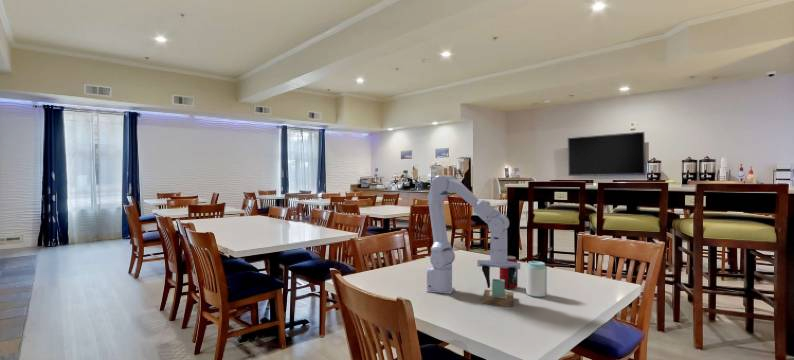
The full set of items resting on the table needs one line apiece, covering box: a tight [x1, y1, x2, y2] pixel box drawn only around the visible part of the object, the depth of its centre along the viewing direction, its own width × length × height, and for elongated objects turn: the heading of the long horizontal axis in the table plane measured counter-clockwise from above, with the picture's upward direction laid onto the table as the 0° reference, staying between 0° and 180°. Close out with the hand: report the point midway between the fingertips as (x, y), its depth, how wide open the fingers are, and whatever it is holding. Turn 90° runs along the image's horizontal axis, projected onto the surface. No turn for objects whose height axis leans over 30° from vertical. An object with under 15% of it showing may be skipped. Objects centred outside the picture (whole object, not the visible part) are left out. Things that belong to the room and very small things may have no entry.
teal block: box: [491, 278, 506, 297], centre depth 135 cm, size 4×4×5 cm
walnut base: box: [482, 289, 514, 307], centre depth 135 cm, size 10×10×2 cm
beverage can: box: [499, 255, 519, 290], centre depth 151 cm, size 7×7×12 cm
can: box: [525, 260, 548, 298], centre depth 142 cm, size 7×7×12 cm
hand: (498, 288), depth 135 cm, fingers open, 6 cm apart
